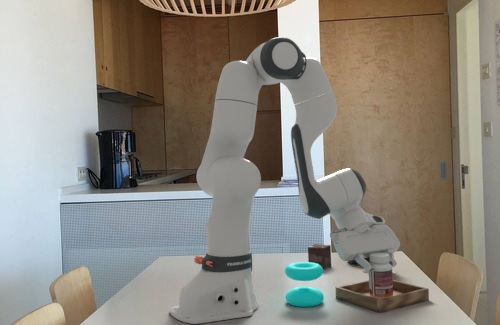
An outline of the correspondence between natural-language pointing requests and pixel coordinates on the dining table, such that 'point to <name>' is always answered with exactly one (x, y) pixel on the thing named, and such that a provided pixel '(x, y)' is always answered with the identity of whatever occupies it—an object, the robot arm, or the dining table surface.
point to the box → (320, 255)
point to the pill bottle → (380, 276)
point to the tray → (401, 297)
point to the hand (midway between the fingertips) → (382, 268)
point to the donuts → (304, 294)
